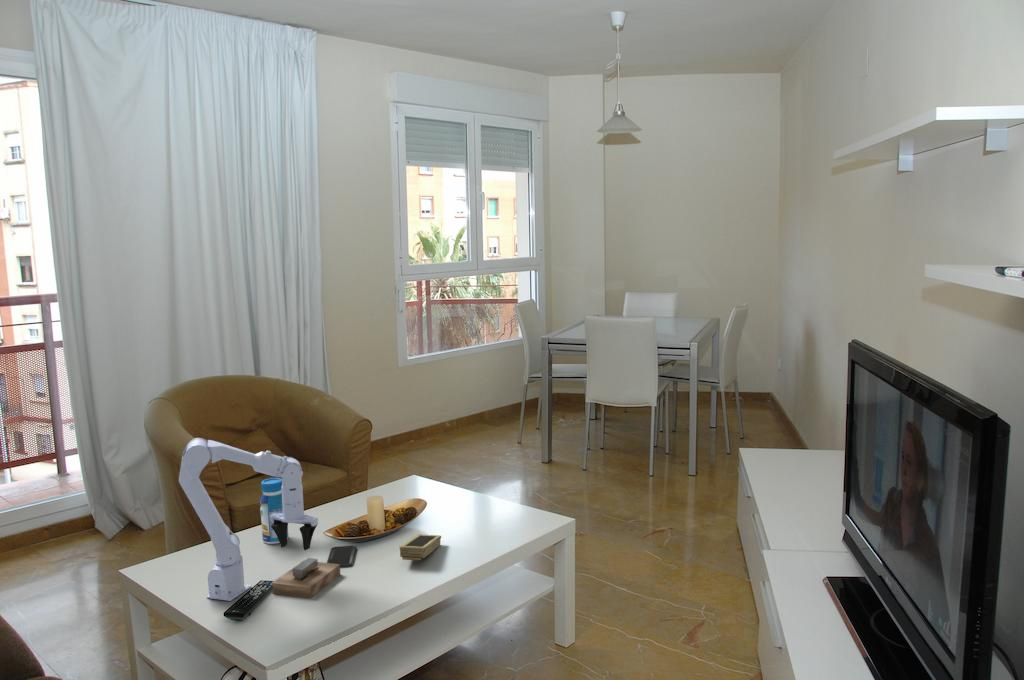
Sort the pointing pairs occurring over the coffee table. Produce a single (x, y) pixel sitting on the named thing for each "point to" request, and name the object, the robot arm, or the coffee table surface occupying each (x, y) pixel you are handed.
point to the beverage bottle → (270, 507)
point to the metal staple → (305, 568)
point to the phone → (342, 556)
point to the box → (419, 547)
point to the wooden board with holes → (306, 581)
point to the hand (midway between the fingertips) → (295, 547)
